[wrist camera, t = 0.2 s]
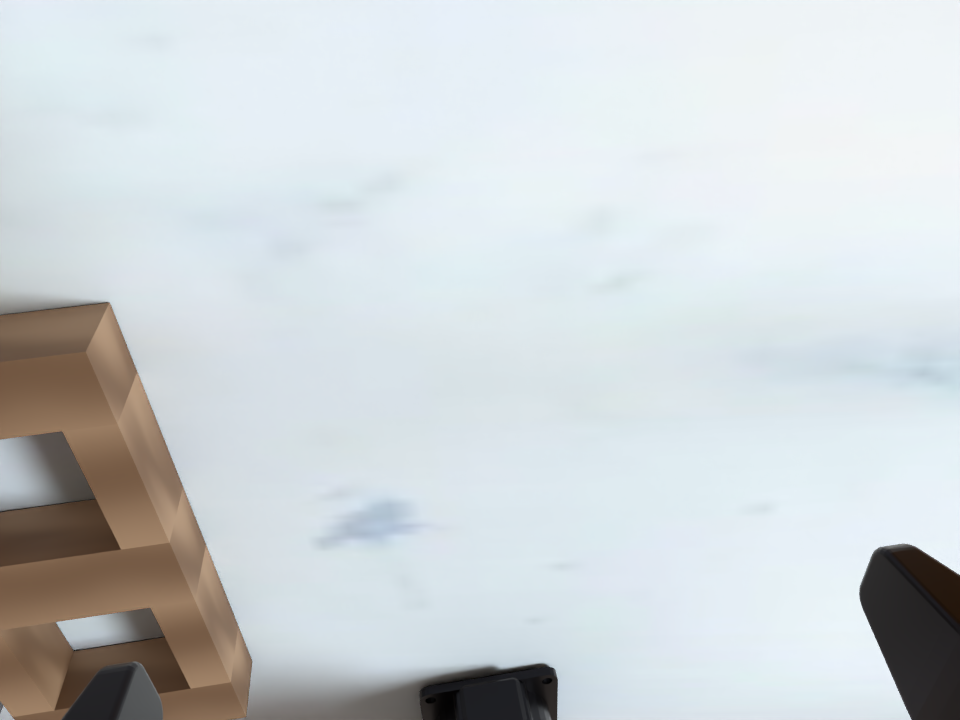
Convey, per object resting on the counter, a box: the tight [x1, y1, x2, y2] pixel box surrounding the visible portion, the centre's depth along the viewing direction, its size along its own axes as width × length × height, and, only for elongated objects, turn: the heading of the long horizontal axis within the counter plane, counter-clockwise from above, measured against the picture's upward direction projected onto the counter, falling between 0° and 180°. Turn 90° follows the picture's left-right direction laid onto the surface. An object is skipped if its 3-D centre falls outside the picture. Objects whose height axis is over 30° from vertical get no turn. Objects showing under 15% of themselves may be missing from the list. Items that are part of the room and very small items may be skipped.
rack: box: [0, 303, 252, 720], centre depth 26 cm, size 18×8×2 cm, turn 3°
